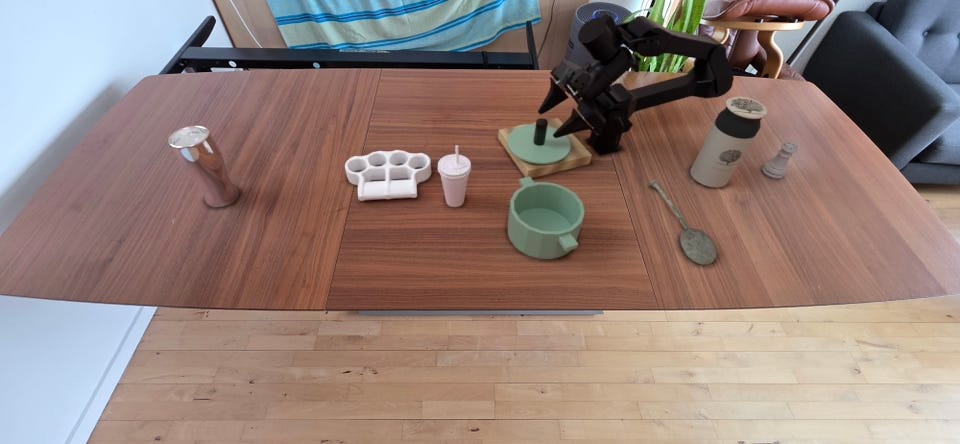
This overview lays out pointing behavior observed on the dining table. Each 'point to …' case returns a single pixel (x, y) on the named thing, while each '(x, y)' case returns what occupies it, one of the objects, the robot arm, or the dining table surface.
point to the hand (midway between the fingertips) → (546, 124)
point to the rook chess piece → (780, 161)
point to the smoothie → (454, 177)
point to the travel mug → (728, 141)
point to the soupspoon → (692, 237)
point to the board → (572, 160)
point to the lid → (538, 143)
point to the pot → (544, 219)
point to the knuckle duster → (388, 174)
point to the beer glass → (204, 164)
